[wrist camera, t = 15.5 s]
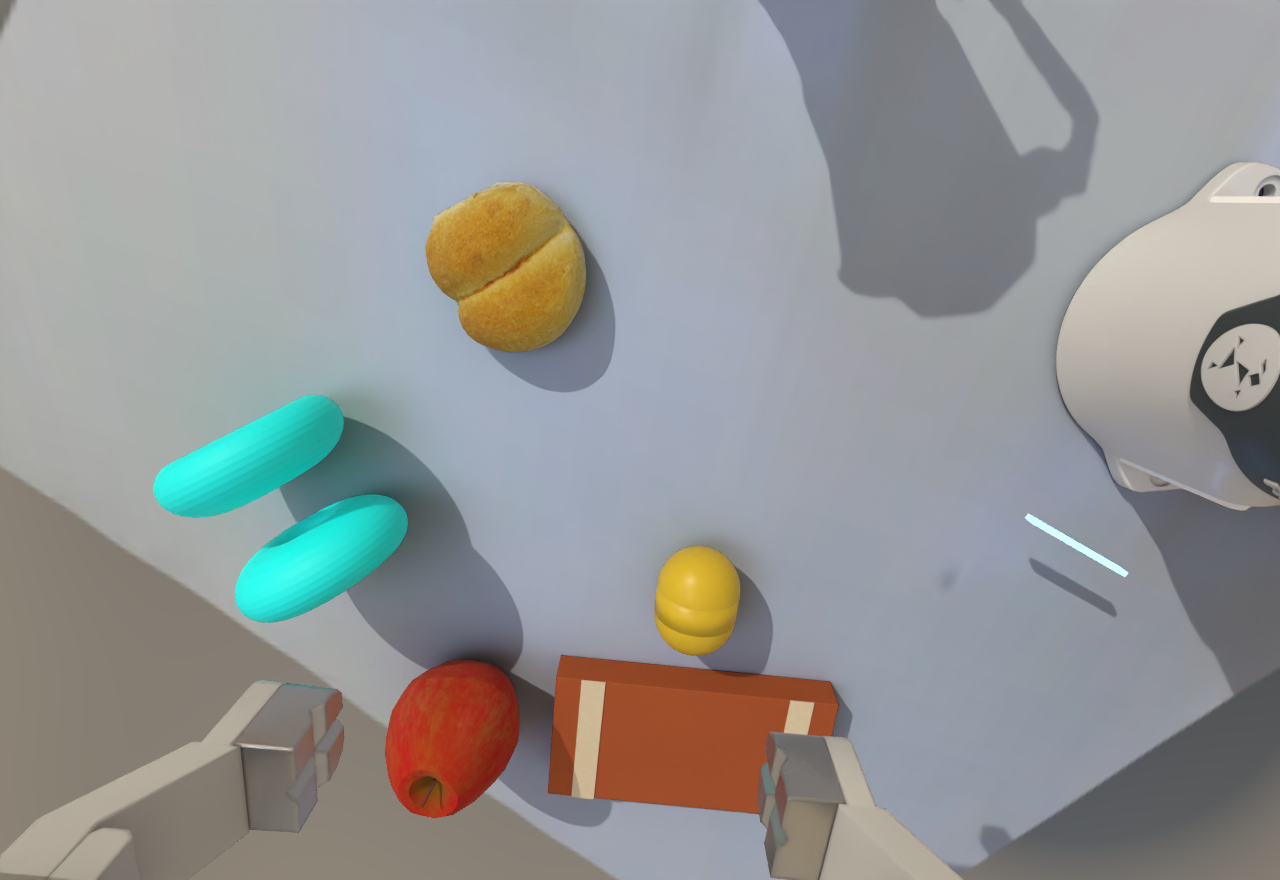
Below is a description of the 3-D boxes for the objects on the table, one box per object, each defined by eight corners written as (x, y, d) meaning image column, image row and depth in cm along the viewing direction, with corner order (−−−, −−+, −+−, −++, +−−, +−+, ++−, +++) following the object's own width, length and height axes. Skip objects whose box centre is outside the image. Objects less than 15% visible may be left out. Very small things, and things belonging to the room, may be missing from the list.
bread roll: (496, 369, 40) (480, 385, 36) (414, 231, 38) (387, 233, 34) (617, 305, 39) (613, 314, 35) (539, 158, 36) (526, 151, 33)
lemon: (648, 536, 42) (688, 577, 38) (718, 527, 44) (763, 566, 40) (636, 636, 44) (672, 686, 40) (703, 623, 47) (744, 669, 42)
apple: (504, 618, 46) (461, 733, 36) (549, 712, 48) (521, 844, 38) (397, 651, 47) (325, 771, 37) (446, 741, 49) (392, 877, 39)
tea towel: (830, 681, 47) (839, 705, 44) (804, 791, 50) (812, 820, 48) (561, 654, 47) (556, 678, 44) (552, 767, 50) (547, 794, 47)
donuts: (353, 371, 40) (261, 417, 31) (438, 508, 43) (378, 589, 34) (221, 437, 42) (94, 501, 32) (311, 565, 45) (218, 658, 35)
